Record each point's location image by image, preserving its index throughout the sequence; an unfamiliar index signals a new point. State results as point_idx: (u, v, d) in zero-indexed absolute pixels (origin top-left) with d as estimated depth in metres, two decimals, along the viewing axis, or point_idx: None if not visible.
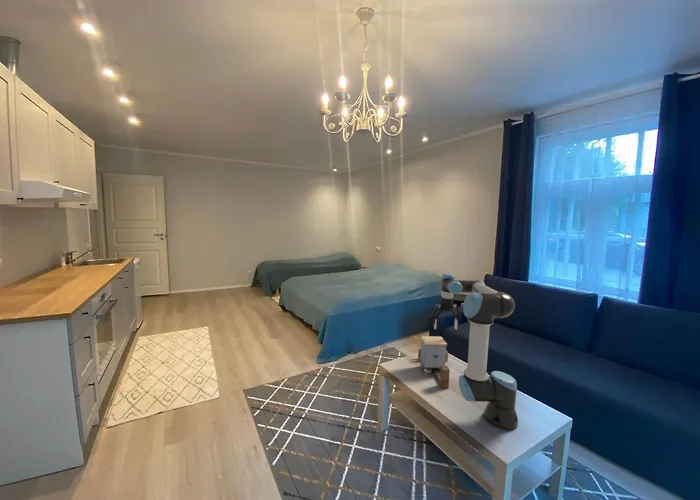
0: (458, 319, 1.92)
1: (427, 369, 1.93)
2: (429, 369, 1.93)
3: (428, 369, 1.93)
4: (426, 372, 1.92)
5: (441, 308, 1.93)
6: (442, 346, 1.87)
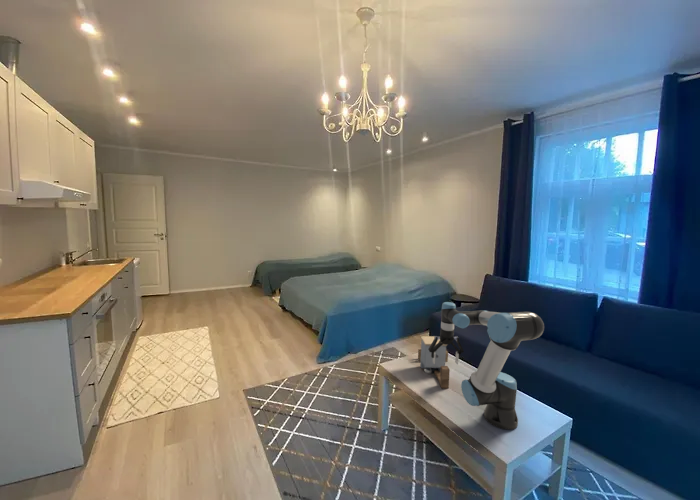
0: (459, 353, 1.73)
1: (427, 369, 1.93)
2: (429, 369, 1.93)
3: (428, 369, 1.93)
4: (426, 372, 1.92)
5: (440, 340, 1.74)
6: (442, 346, 1.87)
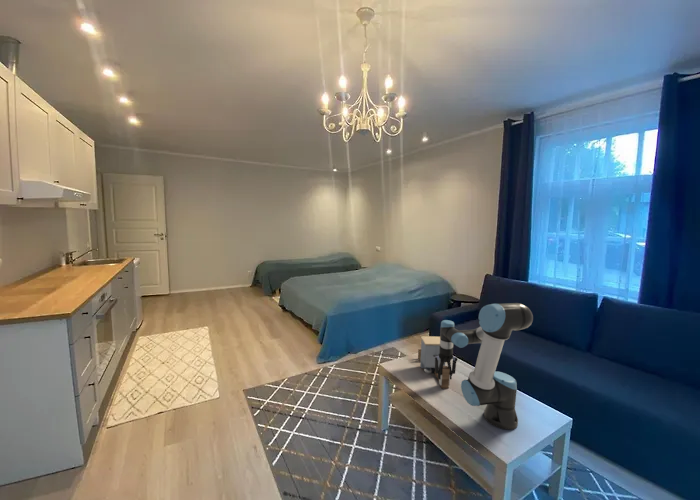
0: (451, 374, 1.74)
1: (427, 369, 1.93)
2: (429, 369, 1.93)
3: (428, 369, 1.93)
4: (426, 372, 1.92)
5: (441, 359, 1.75)
6: None
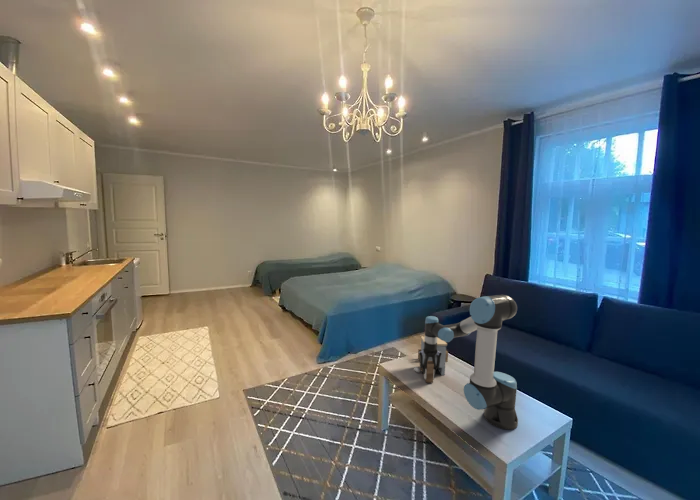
0: (435, 368, 1.79)
1: (417, 368, 1.93)
2: (419, 368, 1.93)
3: (418, 368, 1.93)
4: (415, 371, 1.92)
5: None
6: (442, 346, 1.87)
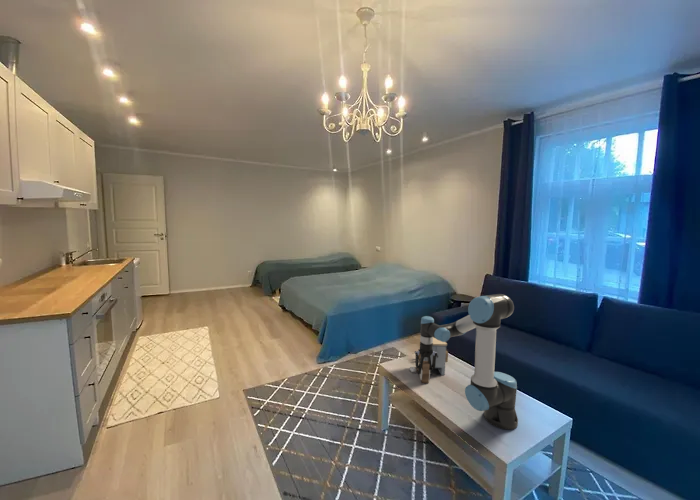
0: (431, 369, 1.79)
1: (413, 369, 1.93)
2: (415, 369, 1.93)
3: (414, 369, 1.93)
4: None
5: (421, 354, 1.80)
6: (442, 346, 1.87)
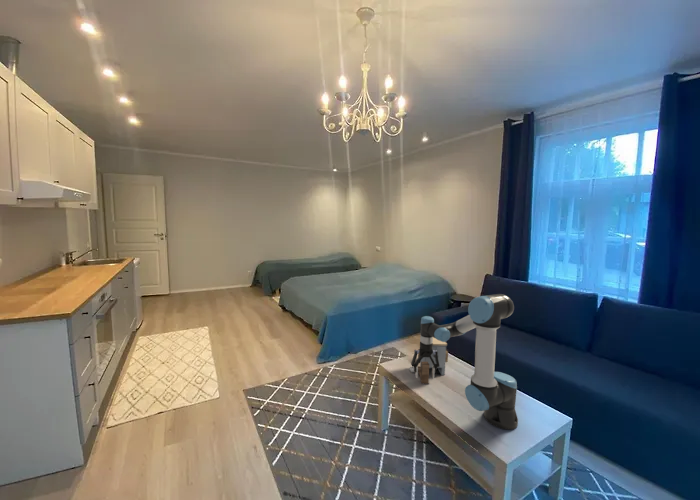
0: (435, 367, 1.79)
1: (412, 369, 1.93)
2: None
3: (413, 369, 1.93)
4: None
5: (420, 354, 1.80)
6: (442, 346, 1.87)
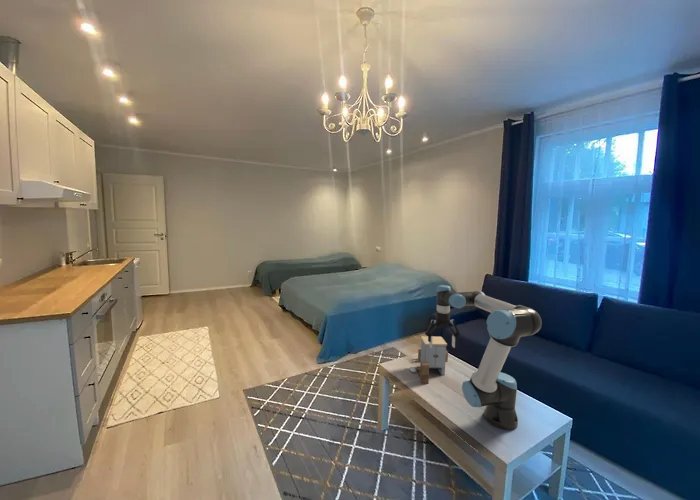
0: (456, 336, 1.73)
1: (412, 369, 1.93)
2: (415, 369, 1.93)
3: (413, 369, 1.93)
4: None
5: (437, 324, 1.74)
6: (442, 346, 1.87)
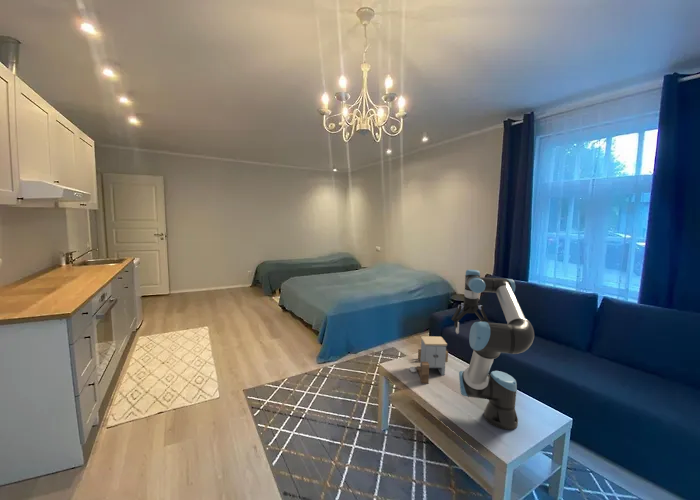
0: (484, 322, 1.67)
1: (412, 369, 1.93)
2: (415, 369, 1.93)
3: (414, 369, 1.93)
4: None
5: (464, 309, 1.68)
6: (442, 346, 1.87)
